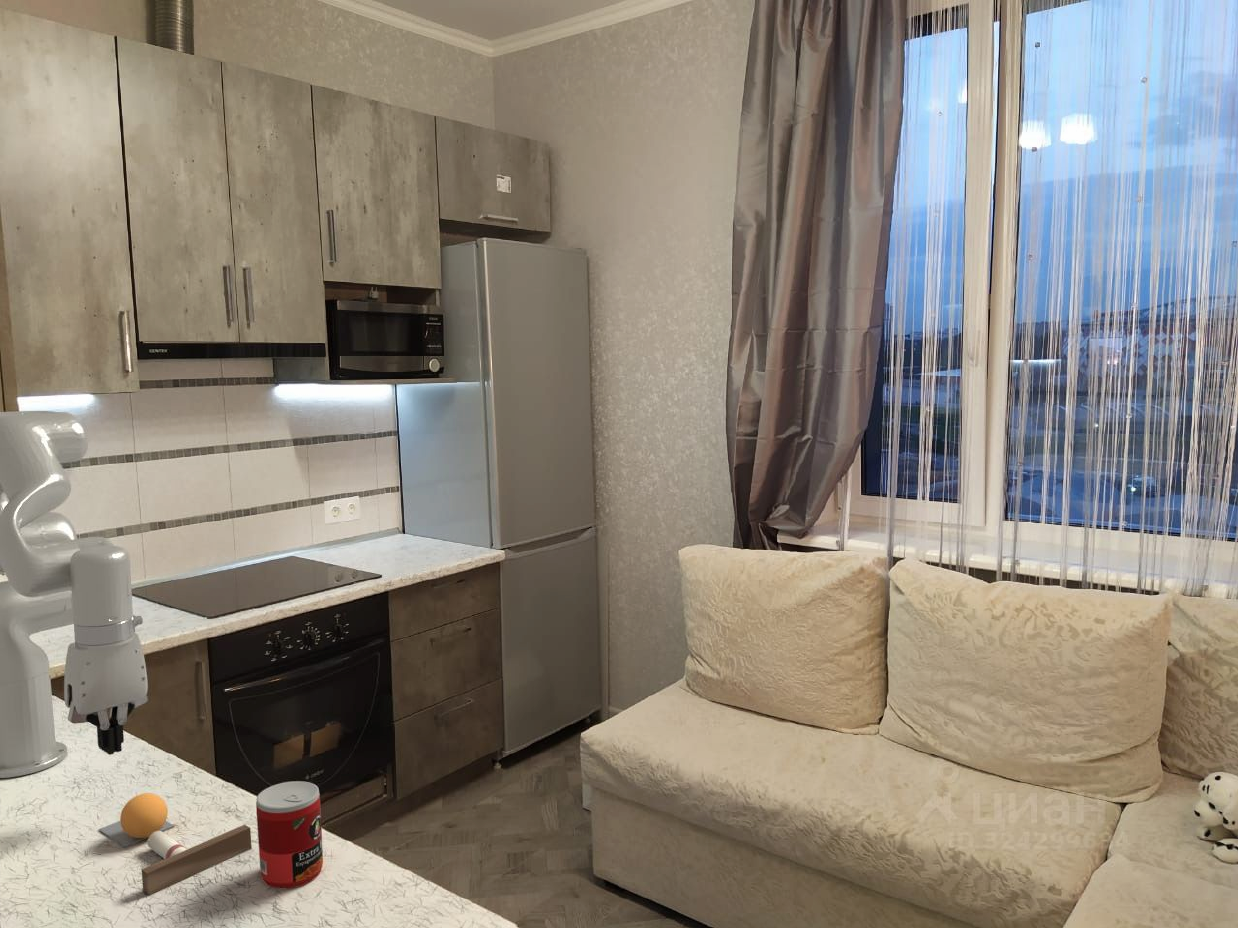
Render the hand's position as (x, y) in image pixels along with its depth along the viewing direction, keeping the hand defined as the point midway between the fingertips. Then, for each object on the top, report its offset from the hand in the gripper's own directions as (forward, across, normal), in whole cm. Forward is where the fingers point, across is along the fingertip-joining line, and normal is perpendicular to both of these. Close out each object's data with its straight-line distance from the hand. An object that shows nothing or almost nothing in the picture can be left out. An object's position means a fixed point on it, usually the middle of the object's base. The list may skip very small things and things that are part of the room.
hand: (111, 750), depth 134 cm
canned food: (+9, -7, +36) cm, 38 cm away
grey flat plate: (+10, 0, +7) cm, 12 cm away
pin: (+8, +1, +15) cm, 17 cm away
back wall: (+9, 0, +25) cm, 27 cm away
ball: (+7, 0, +10) cm, 12 cm away
